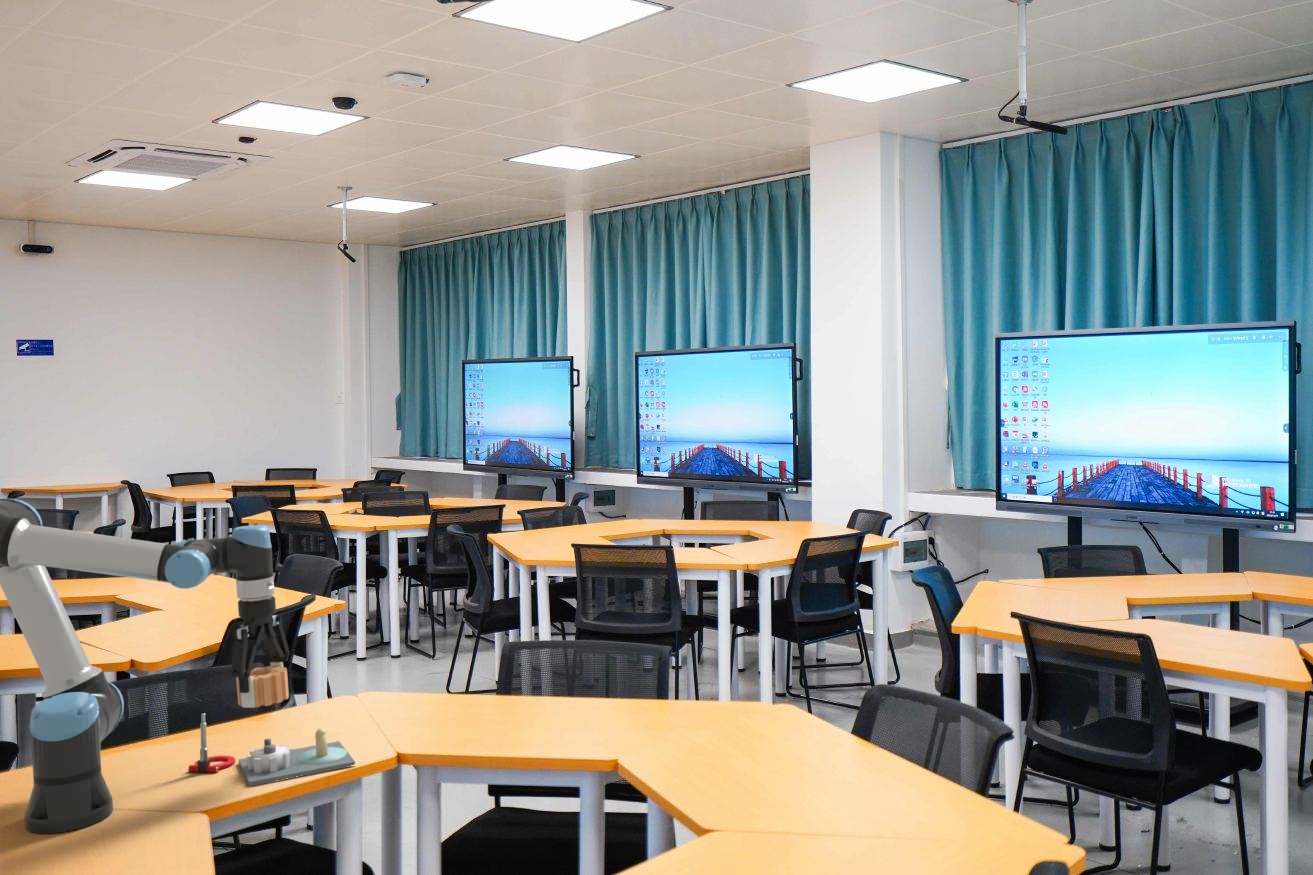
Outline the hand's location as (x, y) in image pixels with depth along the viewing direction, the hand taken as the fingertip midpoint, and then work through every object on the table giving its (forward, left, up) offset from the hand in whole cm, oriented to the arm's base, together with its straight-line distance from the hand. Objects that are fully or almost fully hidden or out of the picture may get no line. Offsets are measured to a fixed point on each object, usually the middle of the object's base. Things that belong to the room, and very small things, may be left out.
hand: (264, 698), depth 225 cm
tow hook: (-9, +13, -17) cm, 23 cm away
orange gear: (0, 0, 0) cm, 0 cm away
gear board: (+7, +3, -17) cm, 18 cm away
